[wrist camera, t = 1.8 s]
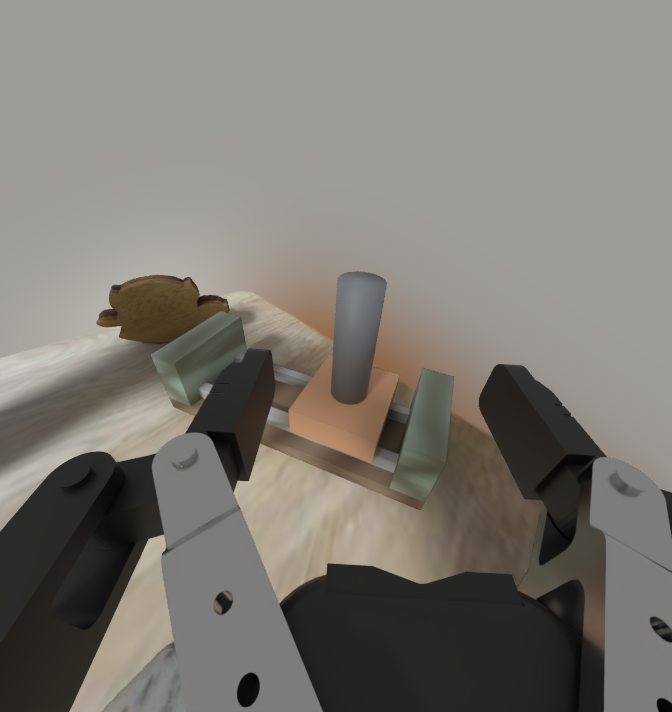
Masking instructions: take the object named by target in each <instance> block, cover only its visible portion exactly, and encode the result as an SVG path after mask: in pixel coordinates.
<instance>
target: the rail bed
mask: <svg viewBox="0 0 672 712" xmlns="http://www.w3.org/2000/svg"><path fill="white" fill-rule="evenodd" d="M246 352H247V348H246V343H245V337H244V331H243V326H242V320H241V317H240V316H237V315H233V314H229V313H226V312H222V311H220V312H219V313H217V314H215V315H214V316H212V317H211V318H209V319H207V320H206V321H204V322H203V323H201V324H199V325H198V326H196V327H195V328H193V329H191V330H190V331H188V332H186V333H185V334H183V335H182V336H180V337H178V338H177V339H175V340H174V341H172V342H170V343H169V344H167V345H166V346H164V347H162V348H161V349H159V350H157V351H156V352H154V353H153V354H151V357H152V360H153V362H154V364H155V366H156V369H157V371H158V373H159V375H160V378H161V380H162V382H163V384H164V386H165V389H166V391H167V393H168V395H169V398H170V400H171V402H172V404H173V406H174V407H175V408H178V409H180V410H182V411H185V412H187V413H189V414H192V415H194V416H196V414H197V412H198V411H199V409H200V407H201V405H202V404H203V402H204V400H205V399H206V397H207V395H208V394H209V392H210V390H211V388H212V386H213V385H215V381H216V379H217V378H218V376H219V374H220V372H221V371H222V370H223V369H225V368H226V367H227V366H228V365H230V364H231V363H232V362H240V363H241V362H242V360H243V358H244V356H245V354H246ZM273 369H274V377H275V394H274V399H273V402H272V405H271V409H270V412H269V415H268V419H267V422H266V425H265V429H264V432H263V435H262V438H261V442H260V443H261V444H263V445H266V446H268V447H271V448H273V449H275V450H278V451H280V452H283V453H285V454H287V455H290V456H292V457H294V458H297V459H299V460H302V461H304V462H306V463H309V464H311V465H314V466H316V467H318V468H321V469H323V470H326V471H328V472H330V473H333V474H335V475H337V476H340V477H342V478H345V479H347V480H349V481H352V482H354V483H357V484H359V485H361V486H364V487H366V488H368V489H371V490H373V491H376V492H378V493H380V494H383V495H385V496H388V497H390V498H392V499H395V500H397V501H399V502H402V503H404V504H407V505H409V506H411V507H414V508H416V509H419V510H421V508H422V506H423V504H424V502H425V500H426V499H427V497H428V495H429V493H430V491H431V489H432V487H433V486H434V484H435V482H436V480H437V478H438V476H439V475H440V473H441V471H442V469H443V467H444V465H445V464H446V458H447V447H448V436H449V426H450V415H451V403H452V393H453V382H454V376H450V375H446V374H443V373H439V372H435V371H432V370H429V369H425V368H423V370H422V373H421V376H420V379H419V382H418V385H417V388H416V391H415V394H414V397H413V400H412V403H411V406H410V408H408V407H405V406H402V405H399V404H396V403H392V404H391V407H390V410H389V413H388V416H387V419H386V422H385V425H384V428H383V431H382V434H381V437H380V440H379V443H378V446H377V449H376V452H375V455H374V458H373V461H372V463H369V462H367V461H364V460H361V459H359V458H356V457H354V456H351V455H349V454H346V453H344V452H341V451H339V450H336V449H333V448H331V447H328V446H326V445H323V444H321V443H318V442H316V441H313V440H311V439H308V438H305V437H303V436H300V435H298V434H295V433H293V432H290V423H289V409H290V407H291V406H292V405H293V403H294V402H295V400H296V399H297V398H298V396H299V395H300V394H301V392H302V391H303V389H304V388H305V387H306V385H307V384H308V383H309V381H310V380H311V378H312V376H309V375H306V374H303V373H300V372H297V371H294V370H291V369H287V368H284V367H281V366H278V365H275V364H273Z"/></svg>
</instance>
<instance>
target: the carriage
mask: <svg viewBox="0 0 672 712" xmlns="http://www.w3.org/2000/svg"><path fill="white" fill-rule="evenodd" d="M386 286H387V282H386V280H385V279H383V278H382V277H380V276H377V275H375V274H371V273H366V272H349V273H344V274H342V275H340V276H339V277H338V283H337V300H336V314H335V331H334V346H333V355H331V354H329V355H328V356H327V358H326V359H325V361H324V362H323V363H322V365H321V366H320V367H319V369H318V370H317V372H316V373H315V374H314V376H313V377H312V378H311V380H310V381H309V383H308V384H307V385H306V387H305V388H304V389H303V391H302V392H301V394H300V395H299V396H298V398H297V399H296V400H295V402H294V403H293V405H292V406H291V407H290V409H289V423H290V432H293V433H295V434H298V435H300V436H303V437H305V438H308V439H311V440H313V441H316V442H318V443H321V444H323V445H326V446H328V447H331V448H333V449H336V450H339V451H341V452H344V453H346V454H349V455H351V456H354V457H356V458H359V459H361V460H364V461H367V462H369V463H372V461H373V458H374V455H375V452H376V449H377V446H378V443H379V440H380V437H381V434H382V431H383V428H384V425H385V422H386V419H387V416H388V413H389V410H390V407H391V404H392V401H393V398H394V395H395V391H396V387H397V384H398V380H399V376H400V375H399V374H395V373H392V372H389V371H385V370H382V369H378V368H375V367H372V364H373V359H374V353H375V347H376V341H377V336H378V331H379V325H380V319H381V314H382V308H383V303H384V297H385V290H386Z"/></svg>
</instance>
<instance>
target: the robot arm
mask: <svg viewBox="0 0 672 712" xmlns="http://www.w3.org/2000/svg"><path fill="white" fill-rule="evenodd" d="M274 394H275V377H274V369H273V361H272V353H271V351H270V350H262V349H248V350H247V352H246V354H245V356H244V358H243V360H242V362H241V363H240V362H232V363H231V364H230V365H228V366H227V367H226V368H225V369H223V370H222V371H221V372H220V374H219V376H218V378H217V379H216V381H215V385H213V386H212V388H211V390H210V392H209V394H208V395H207V397H206V399H205V400H204V402H203V404H202V405H201V407H200V409H199V411H198V412H197V414H196V416H195V418H194V419H193V421H192V423H191V425H190V426H189V428H188V430H187V431H186V433H185V434H183V435H180V436H178V437H175V438H173V439H172V440H170V441H169V442H167V443H166V444H165V445H164V446H163V447H162V448H160V450H159V451H158V452H157V453H156V454H153V455H149V456H144V457H140V458H135V459H131V460H126V461H121V462H116V461H115V460H114V458H113V457H112V456H111V455H110V454H108V453H105V452H89V453H85V454H82V455H79V456H77V457H74V458H72V459H70V460H68V461H66V462H65V463H63V464H62V465H60V466H59V467H57V468H56V469H55V470H54V471H53V472H51V473H50V474H49V475H48V476H47V478H46V479H45V480H44V481H43V482H42V483H41V484H40V486H39V487H38V488H37V489H36V490H35V491H34V493H33V494H32V495H31V496H30V497H29V499H28V500H27V501H26V502H25V503H24V504H23V506H22V507H21V508H20V509H19V510H18V511H17V513H16V514H15V515H14V516H13V517H12V518H11V520H10V521H9V522H8V523H7V524H6V525H5V527H4V528H3V529H2V530H1V531H0V712H69V711H70V709H71V707H72V705H73V703H74V700H75V698H76V696H77V694H78V692H79V689H80V687H81V685H82V683H83V681H84V679H85V676H86V674H87V672H88V670H89V668H90V665H91V663H92V661H93V659H94V657H95V655H96V652H97V650H98V648H99V646H100V644H101V642H102V639H103V637H104V635H105V633H106V631H107V628H108V626H109V624H110V622H111V620H112V618H113V615H114V613H115V611H116V609H117V607H118V604H119V602H120V600H121V598H122V596H123V594H124V591H125V589H126V587H127V585H128V583H129V580H130V578H131V576H132V574H133V572H134V570H135V567H136V565H137V563H138V561H139V559H140V557H141V554H142V552H143V550H144V548H145V546H146V543H147V541H148V539H150V538H153V537H157V536H160V535H164V536H165V541H166V550H165V551H164V552H163V553H162V559H161V562H162V572H163V579H164V585H165V591H166V596H167V602H168V608H169V614H170V620H171V626H172V632H173V638H174V644H175V650H176V656H177V662H178V667H179V673H180V679H181V685H182V691H183V697H184V703H185V709H186V712H672V493H671V492H667V491H664V490H661V489H659V487H658V486H657V485H656V484H655V483H654V482H653V481H652V480H651V479H650V478H649V477H648V476H646V475H645V474H644V473H643V472H641V471H640V470H638V469H637V468H635V467H633V466H631V465H629V464H628V463H625V462H623V461H621V460H617V459H614V458H608V457H606V456H605V454H604V453H603V452H602V451H601V450H600V448H599V447H598V446H597V445H596V444H595V443H594V441H593V440H592V439H591V438H590V436H589V435H588V434H587V433H586V432H585V431H584V429H583V428H582V427H581V426H580V424H579V423H578V422H577V421H576V420H575V419H574V417H571V414H570V413H569V411H568V410H567V409H566V408H565V407H564V406H562V403H561V402H560V401H559V399H558V398H557V397H556V396H555V395H554V393H553V392H552V391H550V390H549V389H548V388H546V387H545V386H544V385H542V384H541V383H540V382H538V381H536V380H535V379H534V378H533V377H532V375H531V374H530V373H529V372H528V370H527V369H526V368H525V367H524V366H521V365H506V364H505V365H504V364H498V365H496V366H495V367H494V369H493V371H492V373H491V375H490V377H489V379H488V381H487V383H486V385H485V386H484V388H483V390H482V393H481V395H480V398H479V408H480V411H481V413H482V415H483V417H484V419H485V421H486V423H487V425H488V427H489V429H490V431H491V433H492V435H493V437H494V439H495V441H496V443H497V445H498V447H499V449H500V451H501V453H502V455H503V457H504V459H505V461H506V463H507V465H508V467H509V469H510V471H511V473H512V475H513V477H514V479H515V481H516V483H517V485H518V487H519V489H520V491H521V493H522V495H523V497H524V499H532V500H542V501H543V503H544V505H545V507H544V508H543V509H542V510H541V512H540V516H539V521H538V526H537V531H536V536H535V541H534V546H533V551H532V556H531V561H530V565H529V568H528V571H527V573H526V575H525V577H524V578H523V579H522V581H521V583H520V585H519V587H518V589H517V588H516V585H515V582H514V580H513V577H512V575H508V574H492V573H476V572H464V573H461V574H458V575H454V576H451V577H447V578H444V579H441V580H437V581H434V582H431V583H427V584H419V583H416V582H413V581H410V580H408V579H405V578H402V577H400V576H397V575H394V574H392V573H389V572H387V571H384V570H381V569H379V568H376V567H373V566H361V565H344V564H327V575H324V576H320V577H317V578H314V579H312V580H310V581H308V582H306V583H304V584H302V585H301V586H299V587H298V588H296V589H295V590H294V591H292V592H291V593H290V594H289V595H288V596H286V597H285V598H284V599H283V600H282V601H281V602H280V604H279V602H278V600H277V597H276V595H275V592H274V590H273V588H272V585H271V583H270V580H269V578H268V575H267V573H266V570H265V568H264V565H263V563H262V560H261V558H260V556H259V553H258V551H257V548H256V546H255V543H254V541H253V538H252V536H251V533H250V531H249V528H248V526H247V524H246V521H245V519H244V516H243V514H242V511H241V509H240V507H239V505H238V503H237V500H236V498H235V496H234V490H235V487H236V484H237V481H249V478H250V475H251V472H252V468H253V465H254V462H255V458H256V455H257V452H258V448H259V445H260V442H261V438H262V435H263V432H264V429H265V425H266V422H267V419H268V415H269V412H270V409H271V405H272V402H273V399H274Z"/></svg>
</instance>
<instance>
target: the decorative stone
mask: <svg viewBox="0 0 672 712" xmlns="http://www.w3.org/2000/svg"><path fill="white" fill-rule="evenodd" d="M102 712H186V709H185V703H184V697H183V691H182V685H181V679H180V673H179V667H178V662H177V656H176V650H175V644H174V642H173V643H171V644H169V645H167V646H166V647H165V648H164V649H162V650H161V651H160V652H159V653H158V654H157V655H156V656H155V657H154V658H153V659H152V660H151V661H150V662H149V663H148V664H147V665H146V666H145V667H144V668H143V670H142V671H141V672H139V673H138V674H137V675H136V676H135V677H134V678H133V679H132V680H131V681H130V682H129V684H128V685H127V686H126V687H125V688H124V689H122V690H121V691H120V692H119V693H118V694H117V695H116V697H115V698H114V699H113V700H112V701H111V702H110V703H109V704H108V705H107V706H106V707H105V708H104V710H103V711H102Z"/></svg>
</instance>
